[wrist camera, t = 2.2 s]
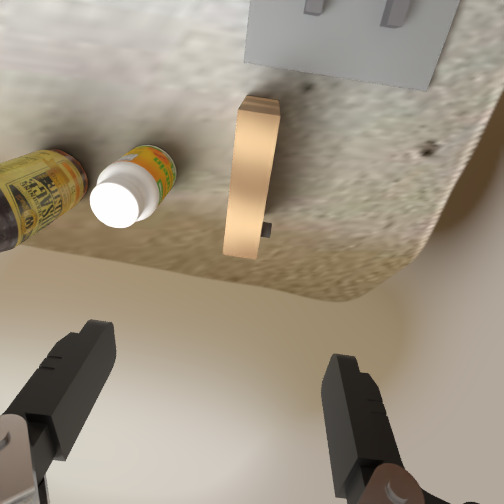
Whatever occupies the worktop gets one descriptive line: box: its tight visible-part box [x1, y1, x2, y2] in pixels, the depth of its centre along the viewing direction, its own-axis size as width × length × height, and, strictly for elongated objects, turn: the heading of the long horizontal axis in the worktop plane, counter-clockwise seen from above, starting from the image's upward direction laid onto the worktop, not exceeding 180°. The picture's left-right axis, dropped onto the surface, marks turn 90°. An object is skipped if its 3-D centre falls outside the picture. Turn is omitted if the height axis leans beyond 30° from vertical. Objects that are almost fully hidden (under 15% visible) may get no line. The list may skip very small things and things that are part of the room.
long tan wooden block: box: [223, 96, 280, 259], centre depth 30 cm, size 12×4×9 cm, turn 172°
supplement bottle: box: [90, 145, 176, 228], centre depth 31 cm, size 5×5×10 cm
